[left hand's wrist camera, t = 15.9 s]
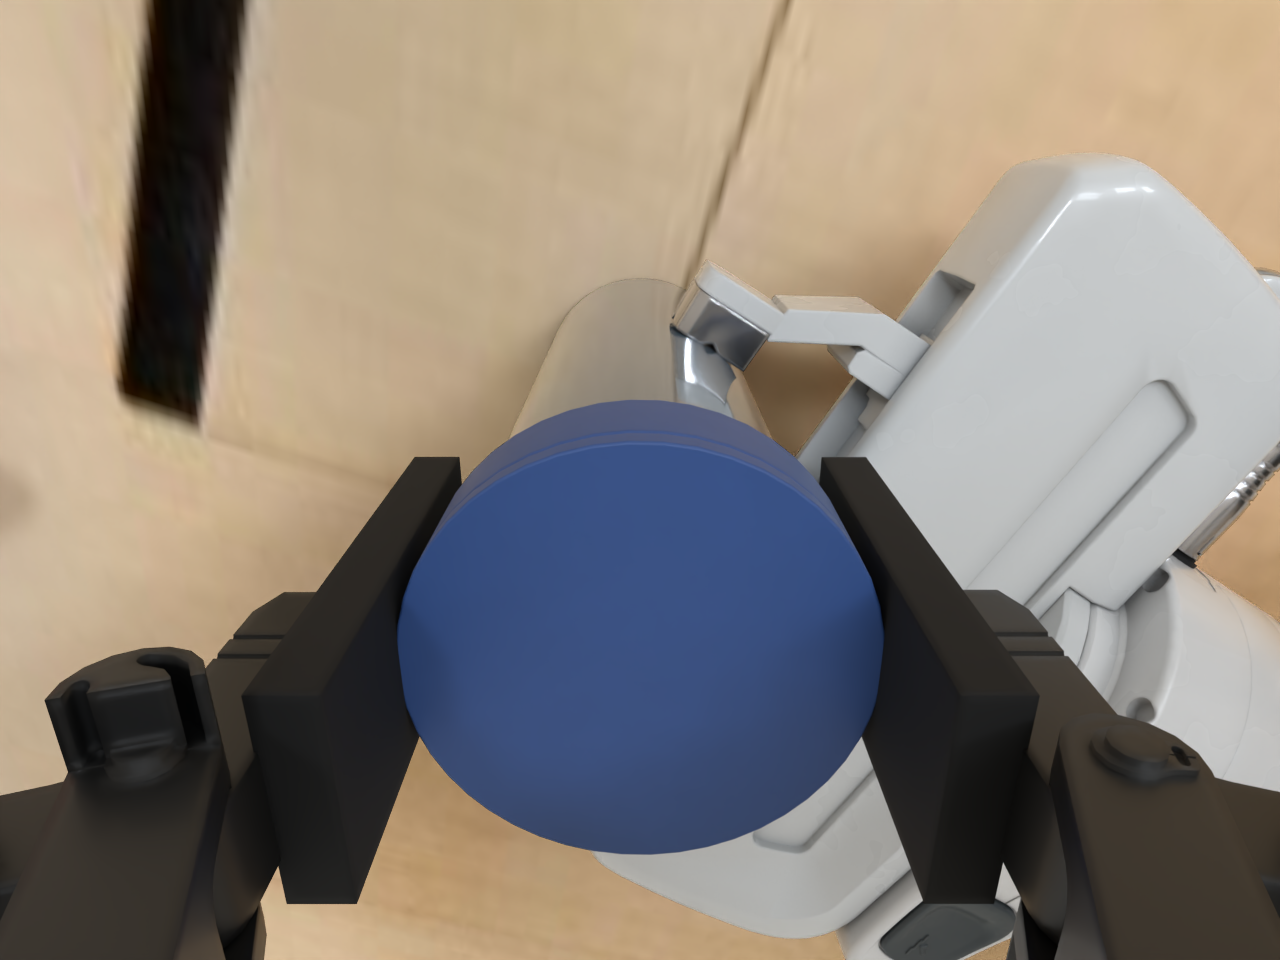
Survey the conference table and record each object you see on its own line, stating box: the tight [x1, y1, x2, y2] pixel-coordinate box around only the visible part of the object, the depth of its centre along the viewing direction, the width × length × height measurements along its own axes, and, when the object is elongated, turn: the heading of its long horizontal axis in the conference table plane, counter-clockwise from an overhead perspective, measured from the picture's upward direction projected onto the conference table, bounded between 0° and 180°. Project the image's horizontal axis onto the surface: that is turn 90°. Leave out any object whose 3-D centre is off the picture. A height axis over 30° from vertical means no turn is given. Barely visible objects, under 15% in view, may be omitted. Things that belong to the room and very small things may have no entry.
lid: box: [397, 400, 884, 855], centre depth 11 cm, size 6×6×2 cm
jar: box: [508, 278, 772, 440], centre depth 18 cm, size 5×5×15 cm
